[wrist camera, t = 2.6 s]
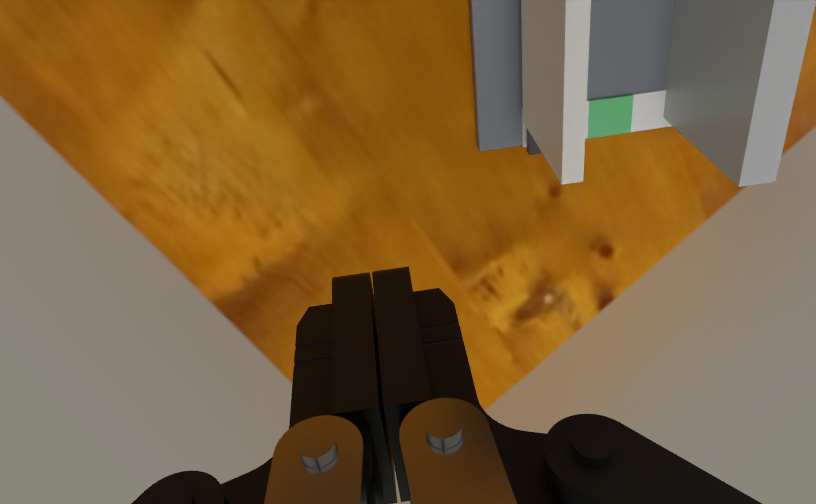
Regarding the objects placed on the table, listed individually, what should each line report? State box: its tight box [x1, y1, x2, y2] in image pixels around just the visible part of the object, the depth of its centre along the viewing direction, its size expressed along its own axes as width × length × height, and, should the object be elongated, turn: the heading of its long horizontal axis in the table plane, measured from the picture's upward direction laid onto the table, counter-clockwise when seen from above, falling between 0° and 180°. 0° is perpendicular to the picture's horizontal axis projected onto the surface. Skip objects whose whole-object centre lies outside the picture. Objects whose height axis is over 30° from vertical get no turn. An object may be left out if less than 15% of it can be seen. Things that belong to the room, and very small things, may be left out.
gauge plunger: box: [521, 0, 591, 184], centre depth 25 cm, size 9×1×6 cm, turn 6°
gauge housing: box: [469, 0, 816, 187], centre depth 25 cm, size 11×10×8 cm
